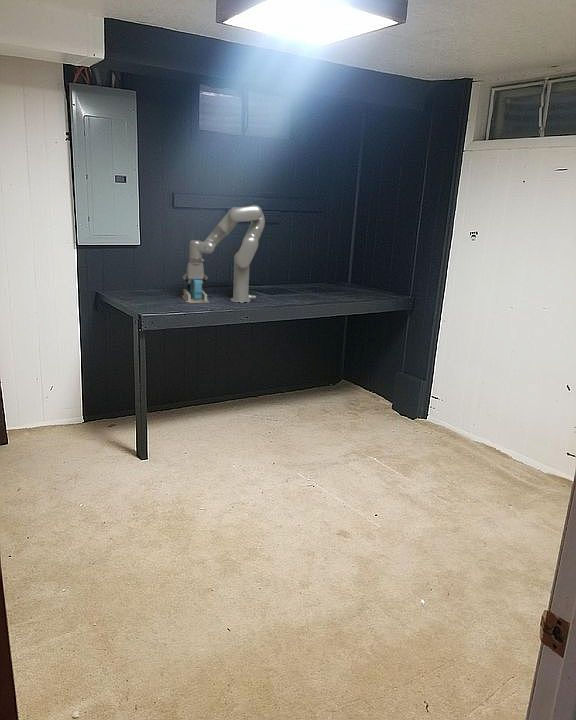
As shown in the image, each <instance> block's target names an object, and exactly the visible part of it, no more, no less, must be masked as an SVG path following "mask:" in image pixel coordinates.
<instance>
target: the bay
mask: <svg viewBox="0 0 576 720" xmlns="http://www.w3.org/2000/svg"><path fill="white" fill-rule="evenodd" d="M181 297H183V298H182V299H183V300H185V301H184V302H185V303H186V302H189V304H190V303H191V304H194V303H195V304H197V303H198V304H201V303H202V304H207V303H208V304H209V303H210V301H209V300H208V294H207V293H206V292H205V291H204V289H202V299H201V300H194V299H193V298H191V295H190V291H188V290H187V289H186V288H183V295H181Z"/></svg>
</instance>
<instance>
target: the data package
mask: <svg viewBox="0 0 576 720" xmlns="http://www.w3.org/2000/svg"><path fill="white" fill-rule="evenodd" d="M190 284H191V290H189V293H190V295H191V298H193V299H194V300H201V299H202V290H203V289H202V281H201V280H200V279H191V281H190Z"/></svg>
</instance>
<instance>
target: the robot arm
mask: <svg viewBox="0 0 576 720" xmlns="http://www.w3.org/2000/svg"><path fill="white" fill-rule="evenodd" d="M265 219H266V218H265V215H264V213H263V210H262V208H261V206H259V205H257V204H251V205H248V206H233V207H231V208H230V209H229V210H228V212H227V213H226V214H225V215H224V216H223V218H222V219H221V220H220V221H219V222H218V223H217V225H216V226H215V227H214V229H213V230H212V231H211V232H210V233H209V235H208V236H207V237H206V238H205V240H204V241H202V240H200V239H199V240H197V239H192V240H189V241H190V242H189V262H187V267H186V273H184V275H183V276H182V279H183V280H184V281H185V282H186V283H187V289H188V290H189V291H190V290H191V284H190V281H191V279H200V280H201V281H202V290H204V289H203V288H204V283H205V282H206V281H207V280H208V279H209V277H208V275H206V274H205V271H204V270H205V269H204V263H203V262H205V259H204V258H203V254H207V255H208V254H209V255H210V254H212V253H213V252H214V251H215V250H216V249H215V248H216V247H217V246H218V244H219V243H220V242H221V241H222V240H223V239H224V238H225V237H227V236H228V235H229V234H230V233H231V232H232V230H233V229H234V228H235V226H236V225H238V223H241V222H242V223H243V222H249V221H250V224H249V226H248V229H247V231H246V233H245V235H244V237H243V239H242V241H241V242H242V243H241V246H240V248H239V249H238V251H237V252H236V253H235V254H234V256H233V258H234V259H233V291H232V294H233V295H232V297H231V298H230V302H233V303H238V302H240V303H239V304H242V303H243V304H244V302H247V303H250V302H251V299H256V297H257V296H256V295H253V294H250V293H249V292H250V291H249V288H250V285H249V284H250V282H249V281H250V265H251V263H252V260H253V259H254V256H255V254H256V252H257V250H258V248H259V241H260V238H261V236H262V233H263V231H264V228H265V224H266V220H265ZM186 277H187V278H186Z"/></svg>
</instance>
